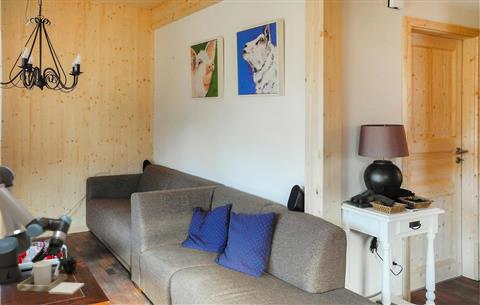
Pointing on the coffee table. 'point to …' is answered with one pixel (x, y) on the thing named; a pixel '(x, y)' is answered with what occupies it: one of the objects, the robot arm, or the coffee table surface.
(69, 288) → the coaster
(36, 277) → the candle holder
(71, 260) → the controller
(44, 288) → the birch frame
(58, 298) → the coffee table surface
